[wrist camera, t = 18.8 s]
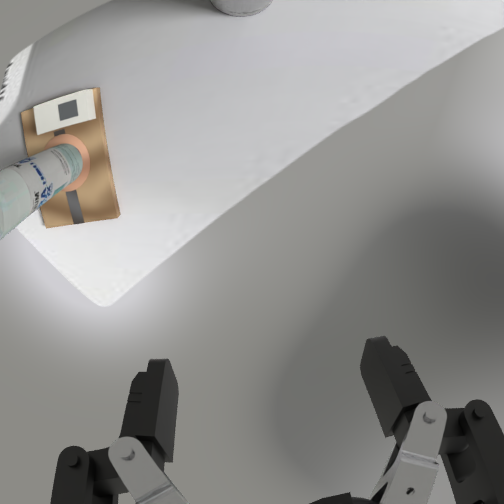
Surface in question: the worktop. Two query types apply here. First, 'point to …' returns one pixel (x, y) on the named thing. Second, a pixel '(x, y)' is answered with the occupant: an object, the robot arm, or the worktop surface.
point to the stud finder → (64, 111)
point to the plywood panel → (91, 177)
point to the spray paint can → (35, 183)
